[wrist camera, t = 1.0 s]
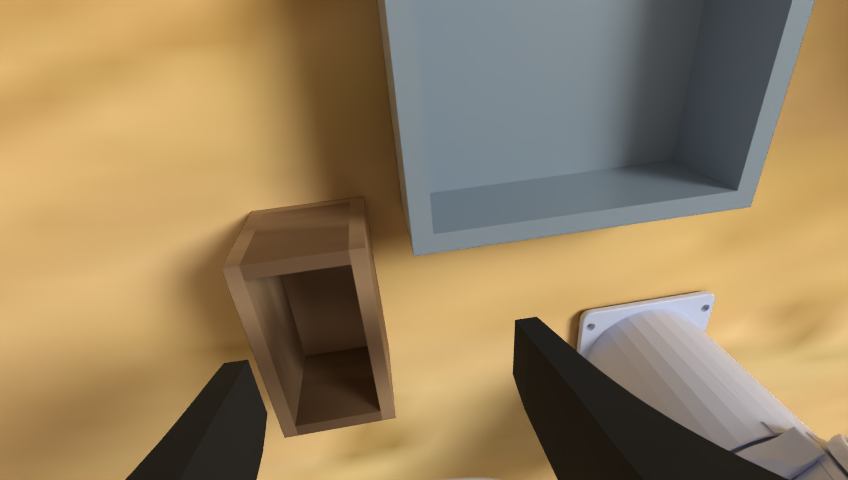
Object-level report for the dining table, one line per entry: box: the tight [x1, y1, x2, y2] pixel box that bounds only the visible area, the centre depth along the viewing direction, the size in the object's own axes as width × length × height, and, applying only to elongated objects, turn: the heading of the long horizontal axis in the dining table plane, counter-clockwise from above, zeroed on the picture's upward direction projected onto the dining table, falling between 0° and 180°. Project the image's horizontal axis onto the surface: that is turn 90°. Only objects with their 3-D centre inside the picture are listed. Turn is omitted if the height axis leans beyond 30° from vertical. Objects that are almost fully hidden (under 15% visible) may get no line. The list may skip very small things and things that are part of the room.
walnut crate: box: [221, 196, 396, 438], centre depth 19 cm, size 9×5×5 cm, turn 5°
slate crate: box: [377, 0, 815, 256], centre depth 15 cm, size 14×14×4 cm
